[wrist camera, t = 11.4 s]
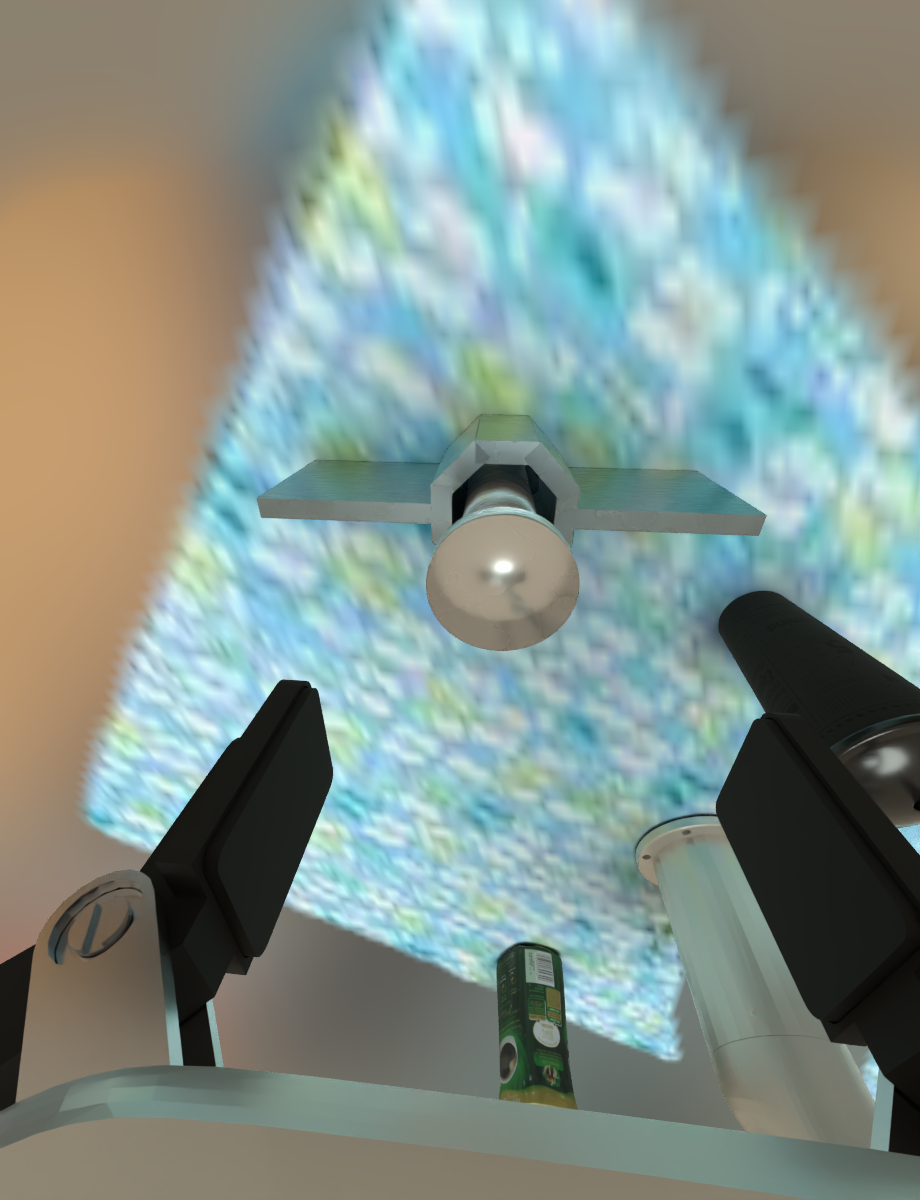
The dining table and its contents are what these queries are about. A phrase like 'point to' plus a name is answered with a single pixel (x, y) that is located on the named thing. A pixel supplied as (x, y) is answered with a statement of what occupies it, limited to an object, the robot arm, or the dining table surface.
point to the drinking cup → (832, 695)
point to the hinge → (559, 499)
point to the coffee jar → (533, 1029)
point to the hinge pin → (502, 567)
